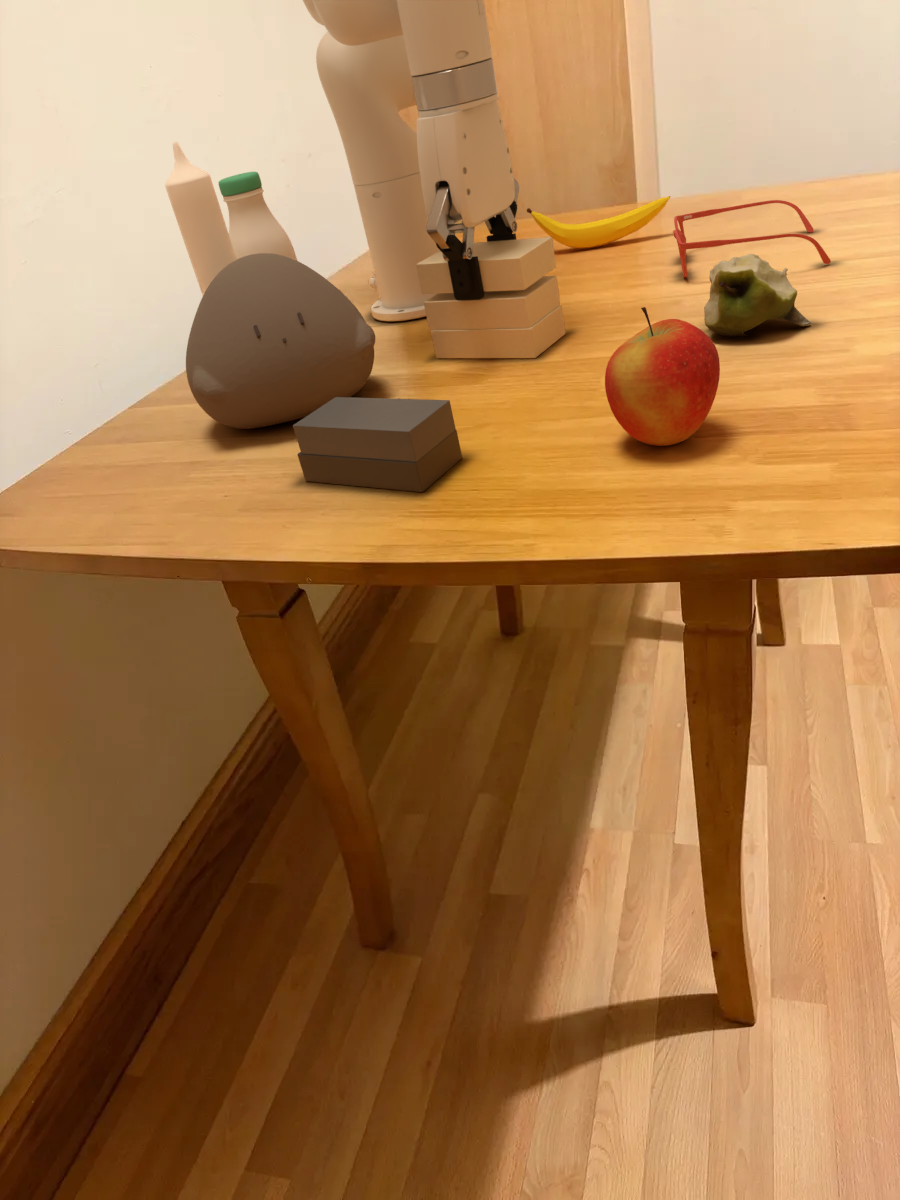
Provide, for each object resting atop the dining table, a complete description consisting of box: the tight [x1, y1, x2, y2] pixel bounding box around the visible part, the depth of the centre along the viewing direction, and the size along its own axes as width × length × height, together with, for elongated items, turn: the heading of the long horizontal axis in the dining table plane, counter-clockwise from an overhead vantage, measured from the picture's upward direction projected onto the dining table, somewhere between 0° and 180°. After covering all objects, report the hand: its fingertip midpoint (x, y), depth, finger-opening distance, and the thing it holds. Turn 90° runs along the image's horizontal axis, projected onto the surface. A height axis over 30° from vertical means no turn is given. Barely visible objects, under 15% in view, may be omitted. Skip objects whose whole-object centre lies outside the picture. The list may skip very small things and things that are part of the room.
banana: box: [526, 195, 671, 250], centre depth 121 cm, size 3×19×6 cm, turn 76°
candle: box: [164, 141, 237, 296], centre depth 93 cm, size 7×7×25 cm
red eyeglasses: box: [672, 199, 832, 278], centre depth 102 cm, size 17×16×5 cm
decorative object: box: [185, 253, 376, 430], centre depth 87 cm, size 18×18×15 cm
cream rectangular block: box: [416, 236, 557, 294], centre depth 91 cm, size 12×7×3 cm, turn 58°
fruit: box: [703, 253, 812, 338], centre depth 82 cm, size 9×9×8 cm
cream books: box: [424, 275, 566, 359], centre depth 93 cm, size 12×7×6 cm, turn 58°
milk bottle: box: [218, 171, 298, 261], centre depth 104 cm, size 8×8×20 cm
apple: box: [604, 306, 721, 447], centre depth 65 cm, size 8×8×10 cm
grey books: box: [292, 396, 463, 493], centre depth 72 cm, size 12×6×5 cm, turn 58°
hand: (488, 285), depth 92 cm, fingers closed on cream rectangular block, 7 cm apart
